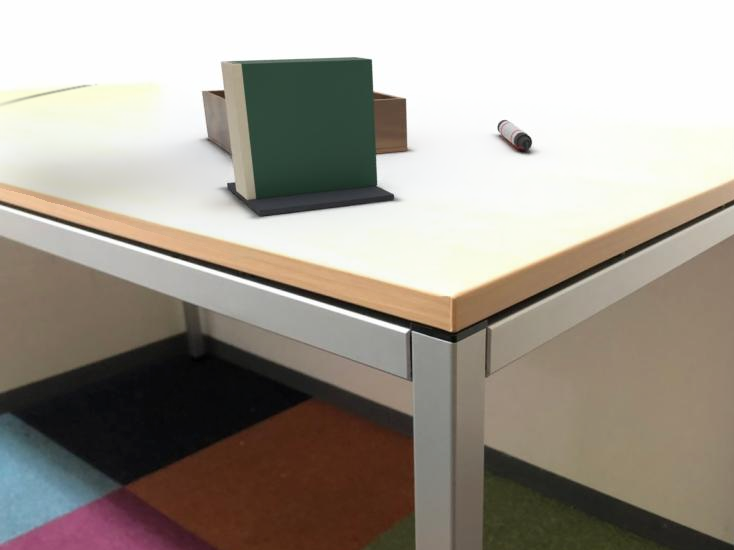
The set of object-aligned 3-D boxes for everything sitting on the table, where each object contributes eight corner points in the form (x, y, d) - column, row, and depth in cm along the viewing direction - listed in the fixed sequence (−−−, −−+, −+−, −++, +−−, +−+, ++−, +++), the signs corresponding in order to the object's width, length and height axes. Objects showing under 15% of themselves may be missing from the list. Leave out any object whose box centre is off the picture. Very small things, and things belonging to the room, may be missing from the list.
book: (236, 191, 67) (220, 61, 63) (361, 177, 72) (355, 56, 68) (247, 200, 64) (231, 64, 59) (377, 185, 69) (372, 59, 65)
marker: (497, 135, 100) (497, 119, 99) (511, 134, 100) (511, 119, 99) (519, 155, 86) (520, 137, 85) (536, 154, 86) (537, 137, 85)
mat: (227, 188, 71) (226, 182, 70) (346, 175, 76) (346, 170, 75) (259, 216, 61) (259, 210, 61) (394, 199, 66) (394, 194, 66)
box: (207, 138, 98) (201, 90, 96) (345, 128, 106) (343, 84, 104) (247, 165, 81) (240, 108, 78) (407, 150, 89) (406, 98, 87)
